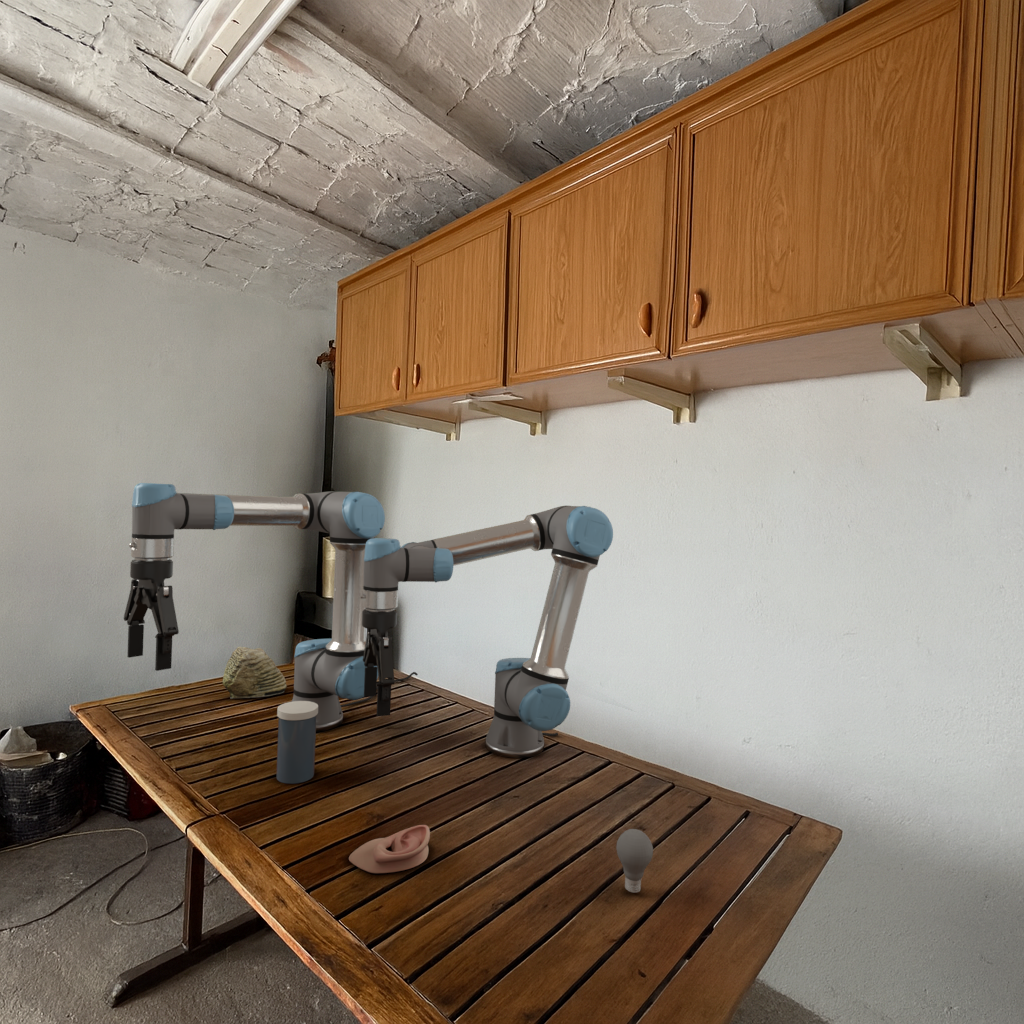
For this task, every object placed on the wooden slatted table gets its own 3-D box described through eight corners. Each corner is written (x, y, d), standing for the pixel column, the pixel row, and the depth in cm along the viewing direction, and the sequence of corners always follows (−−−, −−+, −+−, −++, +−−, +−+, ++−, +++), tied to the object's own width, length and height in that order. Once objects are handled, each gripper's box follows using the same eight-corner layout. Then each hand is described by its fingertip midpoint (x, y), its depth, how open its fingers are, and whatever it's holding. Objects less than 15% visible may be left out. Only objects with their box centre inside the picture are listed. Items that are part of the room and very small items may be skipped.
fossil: (218, 695, 195) (220, 647, 195) (278, 685, 208) (279, 640, 207) (228, 703, 189) (230, 653, 188) (289, 692, 201) (290, 645, 201)
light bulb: (610, 879, 108) (613, 822, 108) (644, 879, 109) (647, 822, 109) (619, 902, 102) (622, 840, 102) (655, 901, 103) (658, 840, 103)
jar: (275, 770, 145) (278, 704, 145) (312, 766, 148) (315, 701, 148) (277, 785, 138) (279, 716, 138) (315, 781, 141) (318, 713, 141)
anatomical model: (341, 845, 108) (369, 813, 120) (340, 868, 108) (368, 833, 120) (414, 857, 106) (436, 823, 117) (413, 880, 106) (435, 844, 117)
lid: (276, 709, 145) (276, 702, 145) (316, 706, 149) (316, 699, 149) (278, 722, 137) (278, 715, 137) (319, 718, 141) (320, 711, 141)
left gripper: (108, 554, 134) (104, 654, 134) (159, 565, 118) (155, 678, 119) (146, 552, 140) (143, 648, 140) (199, 563, 124) (195, 671, 124)
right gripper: (352, 600, 149) (349, 690, 149) (374, 620, 126) (371, 726, 126) (384, 599, 152) (380, 687, 152) (411, 619, 129) (407, 722, 129)
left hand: (148, 662), depth 129 cm, fingers open, 13 cm apart
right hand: (376, 705), depth 139 cm, fingers open, 13 cm apart
